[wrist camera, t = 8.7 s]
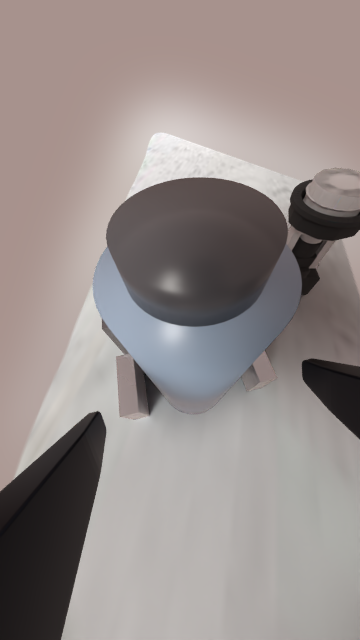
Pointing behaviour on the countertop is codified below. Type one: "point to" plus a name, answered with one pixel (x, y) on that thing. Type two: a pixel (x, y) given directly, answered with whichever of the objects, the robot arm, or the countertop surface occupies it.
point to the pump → (197, 284)
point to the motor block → (135, 389)
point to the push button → (322, 218)
